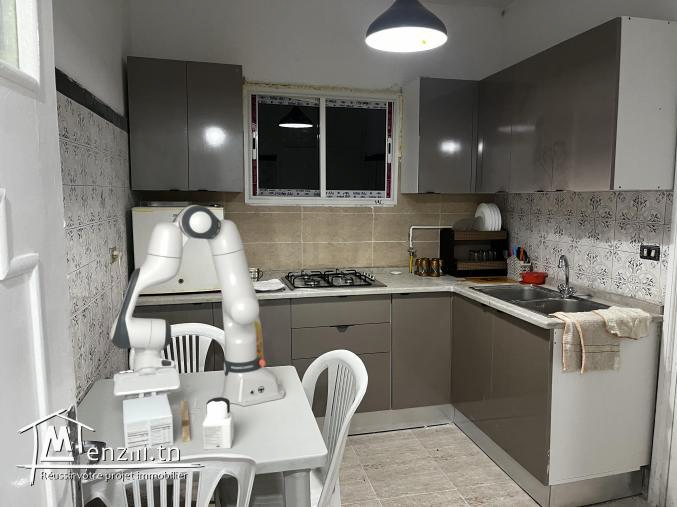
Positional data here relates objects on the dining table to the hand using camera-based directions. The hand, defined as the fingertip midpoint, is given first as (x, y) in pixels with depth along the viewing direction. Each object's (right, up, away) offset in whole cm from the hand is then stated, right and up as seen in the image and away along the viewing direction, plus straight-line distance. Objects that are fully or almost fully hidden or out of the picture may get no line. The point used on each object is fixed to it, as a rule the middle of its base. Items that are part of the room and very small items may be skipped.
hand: (147, 408), depth 158 cm
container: (+25, -7, -12) cm, 29 cm away
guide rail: (+11, -5, +1) cm, 12 cm away
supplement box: (+3, -6, -8) cm, 11 cm away
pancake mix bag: (+25, -1, +40) cm, 47 cm away
